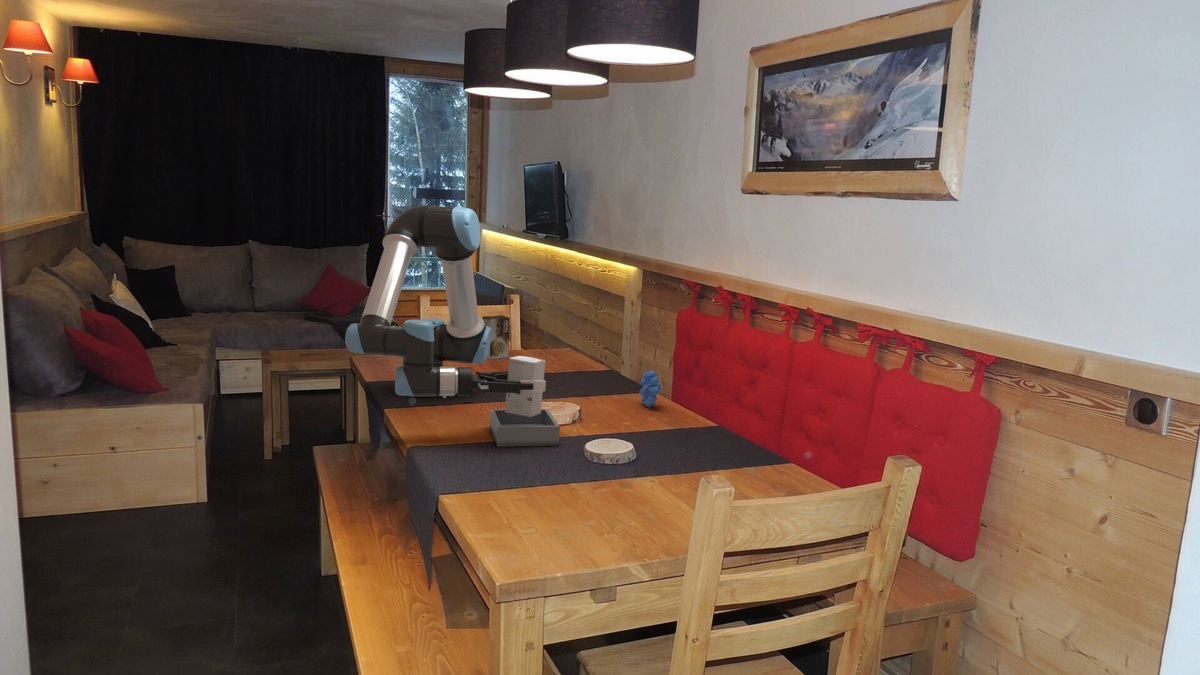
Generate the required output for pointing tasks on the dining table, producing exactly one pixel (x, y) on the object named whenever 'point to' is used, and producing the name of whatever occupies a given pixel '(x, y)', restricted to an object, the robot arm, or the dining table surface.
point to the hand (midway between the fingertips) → (542, 381)
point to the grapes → (650, 388)
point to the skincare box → (527, 400)
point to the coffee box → (498, 336)
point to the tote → (524, 429)
